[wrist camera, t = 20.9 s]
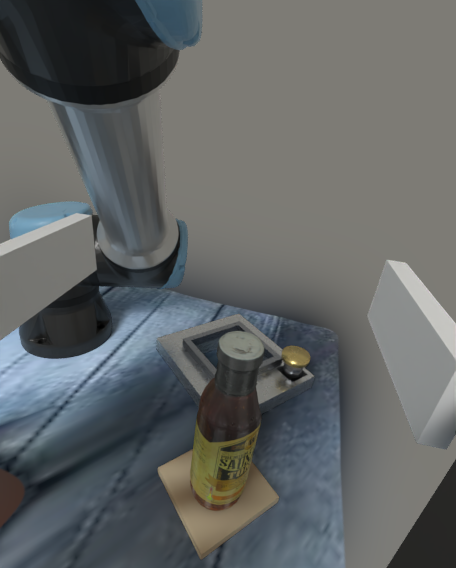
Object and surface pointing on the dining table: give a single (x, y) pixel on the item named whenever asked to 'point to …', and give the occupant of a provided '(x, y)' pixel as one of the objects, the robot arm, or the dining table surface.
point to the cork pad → (207, 523)
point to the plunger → (294, 362)
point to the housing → (199, 371)
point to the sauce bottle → (227, 423)
